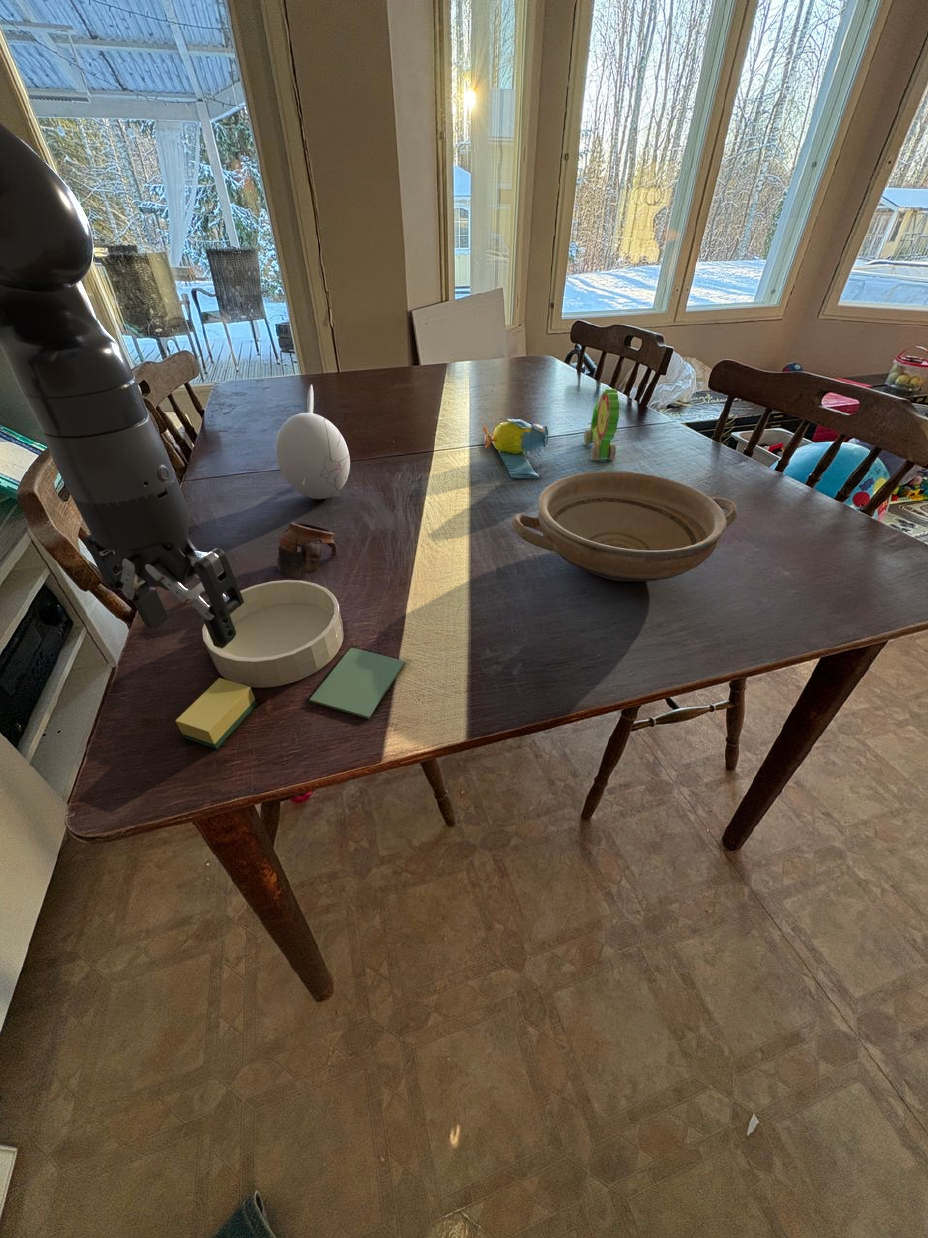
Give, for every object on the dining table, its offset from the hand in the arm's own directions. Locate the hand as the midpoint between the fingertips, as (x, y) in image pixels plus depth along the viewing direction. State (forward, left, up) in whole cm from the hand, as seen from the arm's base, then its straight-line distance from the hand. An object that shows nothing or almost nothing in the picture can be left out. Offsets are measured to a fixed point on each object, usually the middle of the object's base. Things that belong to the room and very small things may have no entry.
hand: (191, 632), depth 51 cm
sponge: (0, +1, -13) cm, 13 cm away
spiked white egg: (+59, +24, -14) cm, 65 cm away
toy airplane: (+91, -9, -14) cm, 92 cm away
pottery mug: (+32, +10, -14) cm, 36 cm away
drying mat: (+11, -11, -13) cm, 20 cm away
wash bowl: (+14, +3, -13) cm, 19 cm away
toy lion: (+99, -28, -14) cm, 103 cm away
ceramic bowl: (+51, -38, -14) cm, 65 cm away
